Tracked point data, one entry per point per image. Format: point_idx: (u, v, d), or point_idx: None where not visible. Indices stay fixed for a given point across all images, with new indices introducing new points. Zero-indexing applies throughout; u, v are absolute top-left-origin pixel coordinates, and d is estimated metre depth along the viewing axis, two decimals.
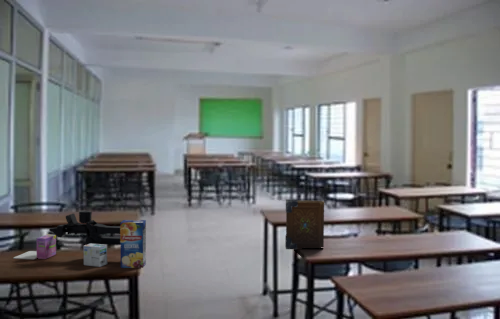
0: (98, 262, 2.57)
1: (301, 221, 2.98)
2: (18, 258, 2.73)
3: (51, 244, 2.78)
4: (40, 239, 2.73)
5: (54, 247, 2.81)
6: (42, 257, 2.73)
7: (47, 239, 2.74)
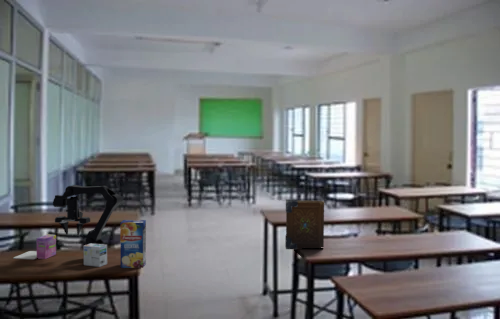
0: (98, 262, 2.57)
1: (301, 221, 2.98)
2: (18, 258, 2.73)
3: (51, 244, 2.78)
4: (40, 239, 2.73)
5: (54, 247, 2.81)
6: (42, 257, 2.73)
7: (47, 239, 2.74)
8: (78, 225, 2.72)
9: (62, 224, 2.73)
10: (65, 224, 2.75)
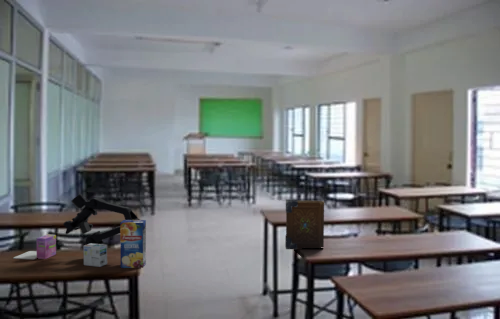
0: (98, 262, 2.57)
1: (301, 221, 2.98)
2: (18, 258, 2.73)
3: (51, 244, 2.78)
4: (40, 239, 2.73)
5: (54, 247, 2.81)
6: (42, 257, 2.73)
7: (47, 239, 2.74)
8: None
9: None
10: None
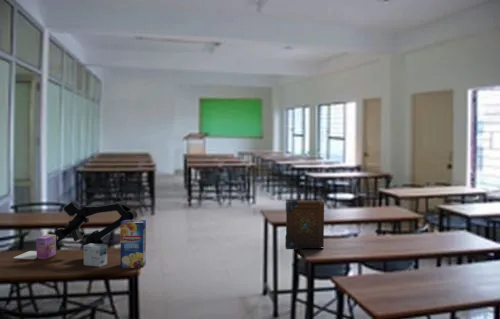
0: (98, 262, 2.57)
1: (301, 221, 2.98)
2: (18, 258, 2.73)
3: (51, 244, 2.78)
4: (40, 239, 2.73)
5: (54, 247, 2.81)
6: (42, 257, 2.73)
7: (47, 239, 2.74)
8: None
9: None
10: None
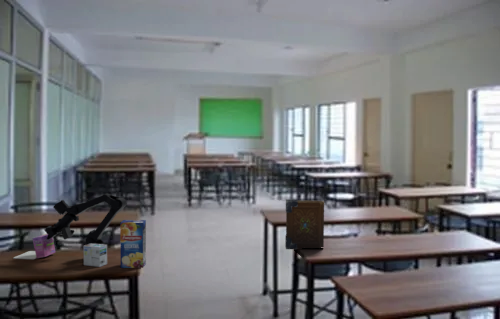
0: (98, 262, 2.57)
1: (301, 221, 2.98)
2: (18, 258, 2.73)
3: (49, 242, 2.79)
4: (36, 238, 2.73)
5: (52, 245, 2.81)
6: (42, 256, 2.73)
7: (43, 237, 2.75)
8: None
9: None
10: None
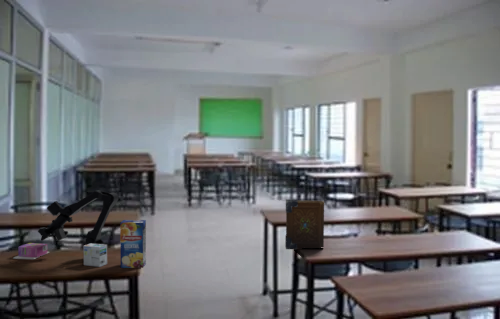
0: (98, 262, 2.57)
1: (301, 221, 2.98)
2: (18, 258, 2.73)
3: (32, 244, 2.81)
4: (19, 252, 2.76)
5: (38, 244, 2.83)
6: (35, 250, 2.74)
7: (22, 246, 2.77)
8: None
9: None
10: None
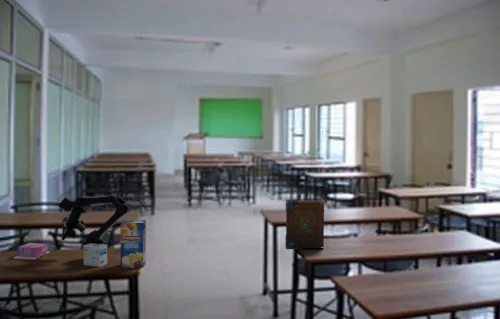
0: (98, 262, 2.57)
1: (301, 221, 2.98)
2: (18, 258, 2.73)
3: (32, 244, 2.81)
4: (19, 252, 2.76)
5: (38, 244, 2.83)
6: (35, 250, 2.74)
7: (22, 246, 2.77)
8: (62, 230, 2.73)
9: (62, 227, 2.76)
10: None
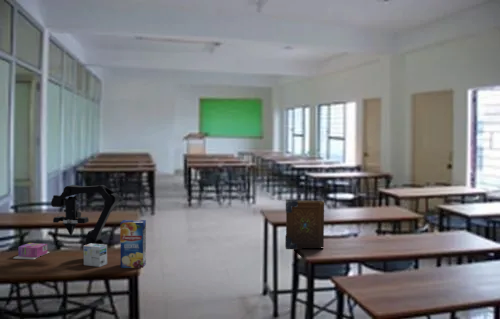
0: (98, 262, 2.57)
1: (301, 221, 2.98)
2: (18, 258, 2.73)
3: (32, 244, 2.81)
4: (19, 252, 2.76)
5: (38, 244, 2.83)
6: (35, 250, 2.74)
7: (22, 246, 2.77)
8: (71, 225, 2.72)
9: (66, 224, 2.73)
10: (69, 224, 2.74)
